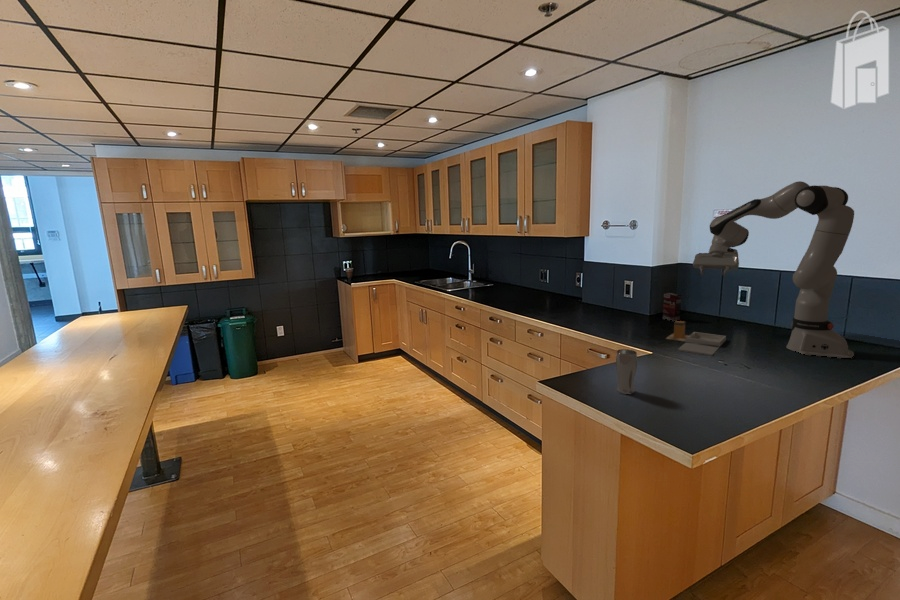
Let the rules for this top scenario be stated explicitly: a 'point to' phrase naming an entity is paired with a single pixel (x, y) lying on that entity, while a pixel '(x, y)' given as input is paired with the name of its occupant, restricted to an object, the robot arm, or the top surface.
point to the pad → (677, 338)
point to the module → (679, 329)
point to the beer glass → (626, 370)
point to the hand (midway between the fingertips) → (712, 274)
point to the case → (702, 343)
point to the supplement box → (671, 306)
